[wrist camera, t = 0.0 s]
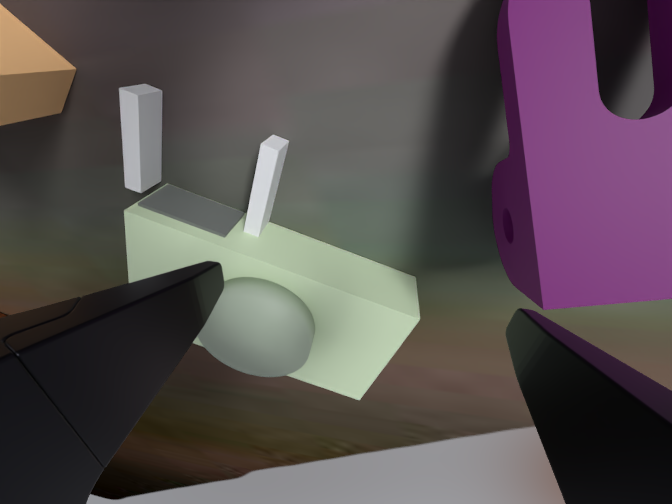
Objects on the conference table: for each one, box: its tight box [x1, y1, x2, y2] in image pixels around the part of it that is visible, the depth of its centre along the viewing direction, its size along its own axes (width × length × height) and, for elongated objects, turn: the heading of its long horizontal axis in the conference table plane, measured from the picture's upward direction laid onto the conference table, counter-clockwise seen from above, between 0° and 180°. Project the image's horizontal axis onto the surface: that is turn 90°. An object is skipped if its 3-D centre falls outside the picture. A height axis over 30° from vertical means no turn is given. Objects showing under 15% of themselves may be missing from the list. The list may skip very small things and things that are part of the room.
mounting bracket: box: [492, 0, 672, 310], centre depth 17 cm, size 9×8×18 cm
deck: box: [119, 84, 420, 400], centre depth 25 cm, size 19×24×7 cm
